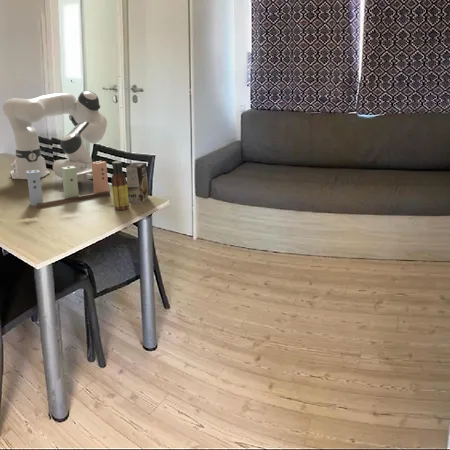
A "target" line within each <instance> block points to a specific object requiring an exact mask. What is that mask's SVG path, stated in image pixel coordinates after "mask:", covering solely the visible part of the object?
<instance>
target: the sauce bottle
mask: <svg viewBox="0 0 450 450" xmlns="http://www.w3.org/2000/svg"><path fill="white" fill-rule="evenodd" d="M111 166H112V171H113V172H112V173H113V174H112V175H111V181H110V182H111V189H112V190H111V191H112V197H113V198H112V199H113V200H112V201H113V206H114V209H115V210H117V211H125V210H128V209H129V208H130V203H129V197H128V188H127V176H125V174H124V171H123V162H122V161H121V160H114V161H112V162H111Z"/></svg>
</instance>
